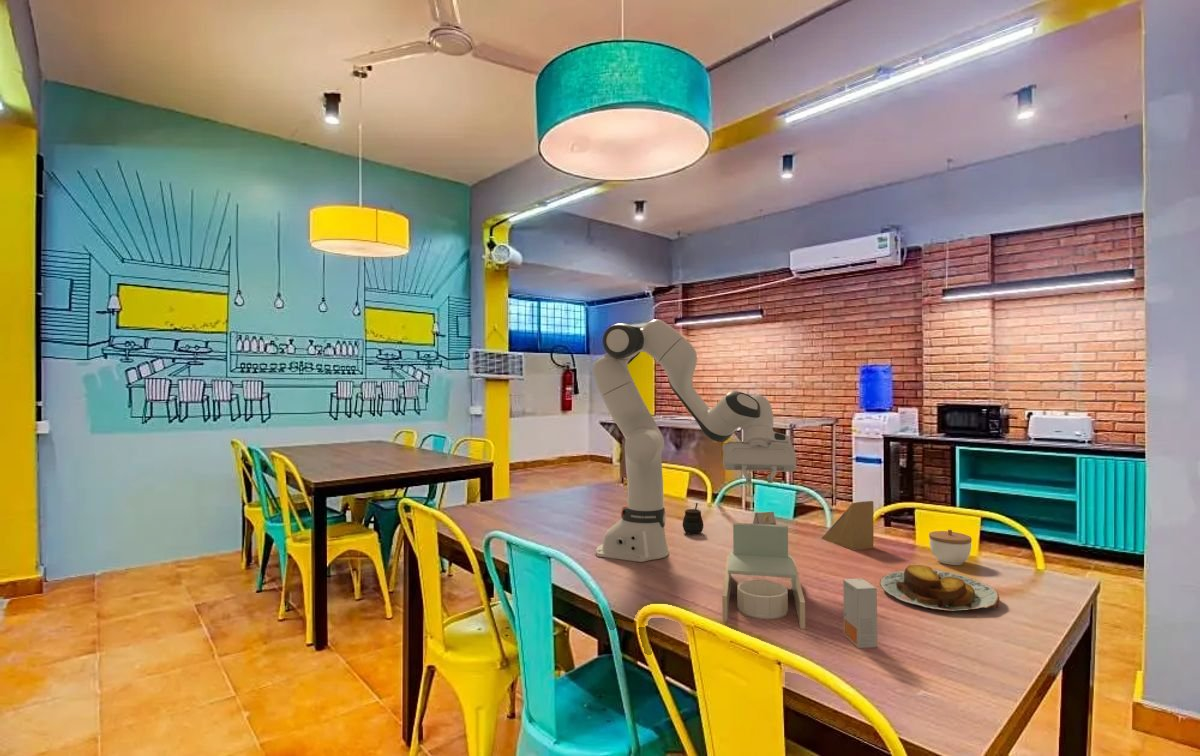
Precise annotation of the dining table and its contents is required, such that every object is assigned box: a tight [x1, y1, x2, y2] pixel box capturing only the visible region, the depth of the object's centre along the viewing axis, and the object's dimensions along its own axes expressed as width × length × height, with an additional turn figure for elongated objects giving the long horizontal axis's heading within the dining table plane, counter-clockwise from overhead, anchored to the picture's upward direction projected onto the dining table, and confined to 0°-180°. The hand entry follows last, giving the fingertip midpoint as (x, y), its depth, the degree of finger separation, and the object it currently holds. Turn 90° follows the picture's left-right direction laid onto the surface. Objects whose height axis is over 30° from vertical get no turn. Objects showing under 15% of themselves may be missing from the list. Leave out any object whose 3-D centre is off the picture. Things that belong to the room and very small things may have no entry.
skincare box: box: [842, 578, 878, 649], centre depth 122 cm, size 6×4×12 cm
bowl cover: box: [728, 522, 796, 579], centre depth 153 cm, size 16×16×9 cm
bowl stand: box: [721, 554, 806, 630], centre depth 146 cm, size 17×32×6 cm, turn 166°
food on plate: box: [879, 564, 1000, 617], centre depth 148 cm, size 25×25×7 cm
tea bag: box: [752, 511, 778, 525], centre depth 197 cm, size 4×7×10 cm, turn 108°
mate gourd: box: [682, 502, 704, 536], centre depth 210 cm, size 7×8×10 cm
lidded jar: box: [928, 529, 973, 566], centre depth 175 cm, size 11×11×9 cm
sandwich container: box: [820, 500, 874, 551], centre depth 197 cm, size 9×15×15 cm, turn 19°
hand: (759, 481), depth 166 cm, fingers open, 4 cm apart
